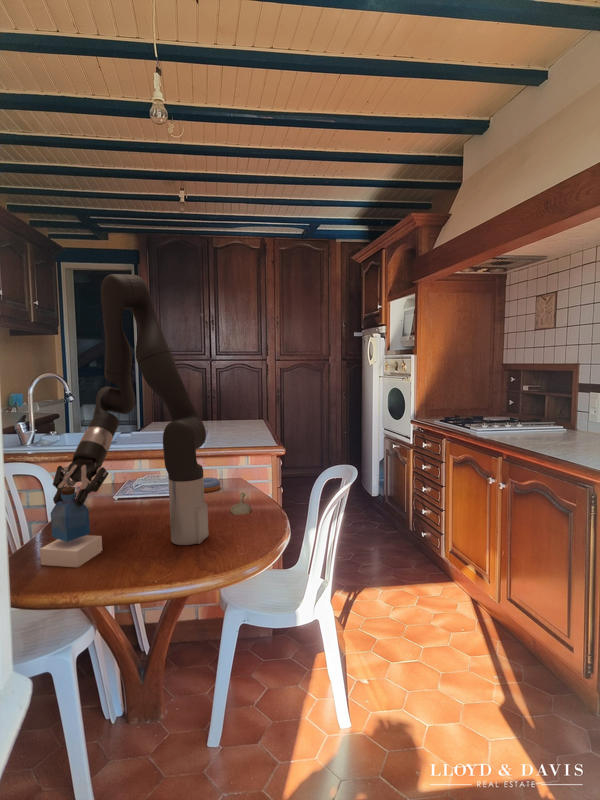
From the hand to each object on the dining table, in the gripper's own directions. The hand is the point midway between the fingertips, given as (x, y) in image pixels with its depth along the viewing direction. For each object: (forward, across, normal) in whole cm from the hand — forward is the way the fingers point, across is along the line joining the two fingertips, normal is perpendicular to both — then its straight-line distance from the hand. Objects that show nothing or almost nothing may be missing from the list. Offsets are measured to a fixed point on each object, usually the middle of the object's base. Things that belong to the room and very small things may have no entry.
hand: (67, 504), depth 121 cm
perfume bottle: (+5, 0, +7) cm, 9 cm away
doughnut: (-36, +10, +57) cm, 68 cm away
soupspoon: (-24, +29, +45) cm, 59 cm away
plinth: (+9, 0, +10) cm, 14 cm away
